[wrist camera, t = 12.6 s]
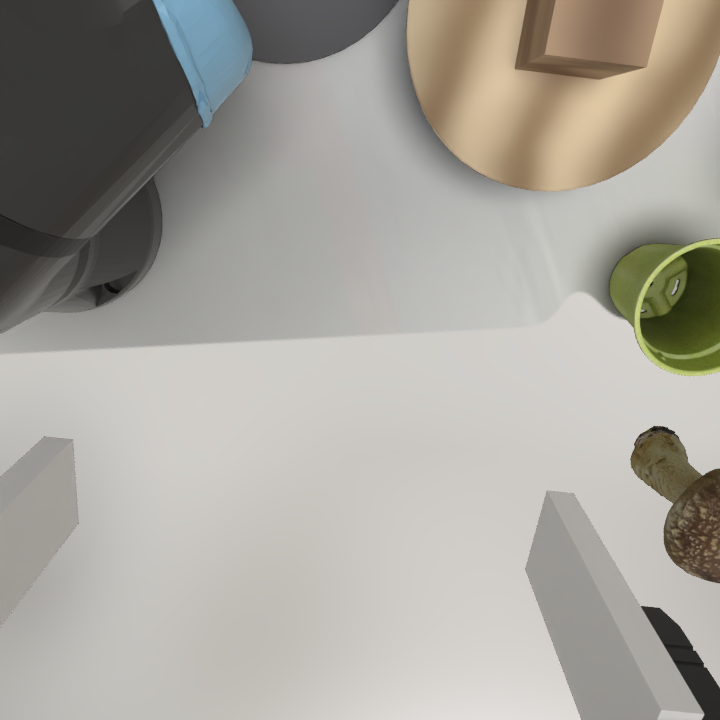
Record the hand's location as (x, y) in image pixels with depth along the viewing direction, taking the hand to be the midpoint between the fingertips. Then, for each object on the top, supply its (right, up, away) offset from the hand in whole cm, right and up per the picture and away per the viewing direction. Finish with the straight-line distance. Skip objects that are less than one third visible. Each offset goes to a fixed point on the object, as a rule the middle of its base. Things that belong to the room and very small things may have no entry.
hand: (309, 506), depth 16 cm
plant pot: (+24, +11, +30) cm, 40 cm away
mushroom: (+27, -3, +35) cm, 44 cm away
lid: (+13, +23, +17) cm, 32 cm away
